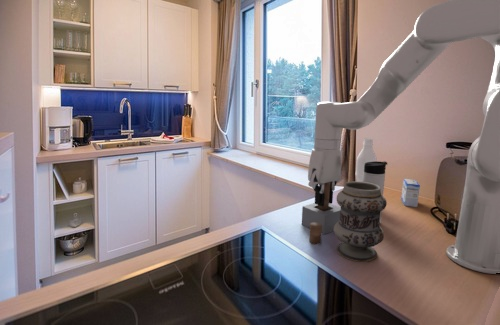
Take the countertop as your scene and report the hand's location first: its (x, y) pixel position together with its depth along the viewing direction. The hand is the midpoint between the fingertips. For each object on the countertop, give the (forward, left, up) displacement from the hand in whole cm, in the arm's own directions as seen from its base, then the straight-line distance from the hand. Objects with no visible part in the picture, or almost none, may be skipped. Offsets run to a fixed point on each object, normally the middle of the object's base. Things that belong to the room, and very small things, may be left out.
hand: (323, 203), depth 92 cm
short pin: (-6, +10, -8) cm, 14 cm away
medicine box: (-5, -44, -8) cm, 45 cm away
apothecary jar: (-16, +6, -8) cm, 19 cm away
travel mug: (-7, -15, -8) cm, 18 cm away
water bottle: (+5, -29, -8) cm, 30 cm away
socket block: (0, 0, -8) cm, 8 cm away
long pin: (0, 0, -3) cm, 3 cm away
